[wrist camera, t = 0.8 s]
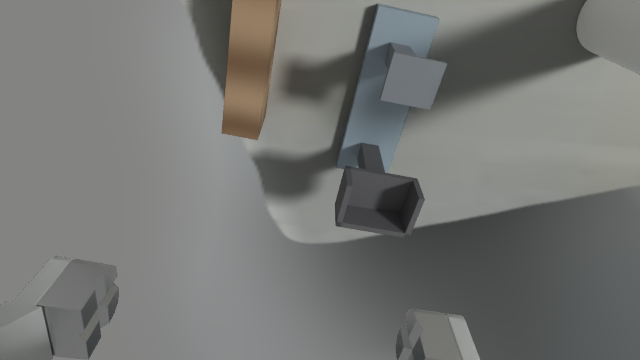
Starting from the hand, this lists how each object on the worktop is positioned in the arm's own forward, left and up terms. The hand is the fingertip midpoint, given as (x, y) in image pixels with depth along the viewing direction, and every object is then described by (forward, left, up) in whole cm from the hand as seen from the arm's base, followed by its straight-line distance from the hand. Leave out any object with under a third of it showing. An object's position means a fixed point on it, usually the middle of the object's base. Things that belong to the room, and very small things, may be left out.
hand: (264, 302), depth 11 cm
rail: (+2, -5, -35) cm, 35 cm away
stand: (+5, +9, -35) cm, 36 cm away
